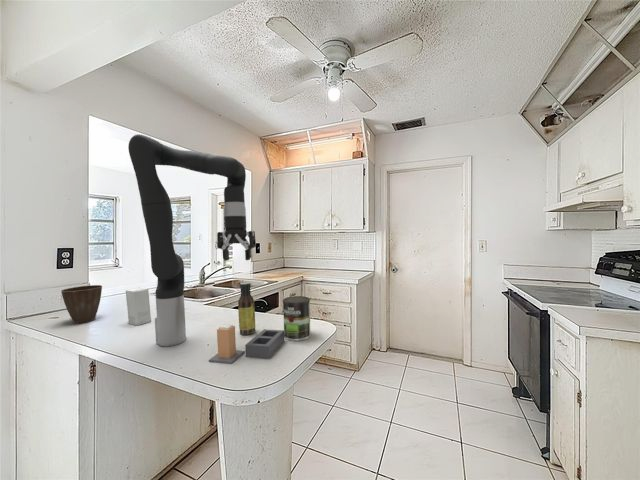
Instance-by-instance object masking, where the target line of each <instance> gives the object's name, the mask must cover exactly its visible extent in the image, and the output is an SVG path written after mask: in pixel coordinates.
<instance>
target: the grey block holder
mask: <svg viewBox="0 0 640 480" xmlns="http://www.w3.org/2000/svg"><path fill="white" fill-rule="evenodd" d="M285 341H286V340H285V337H284V329H283V330H281V329H266V328H265V329H263V330H261V331H260V332H259V333H258V334H256V335H255V336H254V337H253V338H252V339H250V340H249V341H248V342H247V343H246V344H245V345H244V351H245V358H251V359H253V358H254V359H255V358H256V359H265V360H269V359H271V357H273V355H274V354H275V353H276V352H277V350H279V348H280V347H281V346H282V345H283V344H284V343H285Z"/></svg>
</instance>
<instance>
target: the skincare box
mask: <svg viewBox="0 0 640 480" xmlns="http://www.w3.org/2000/svg"><path fill="white" fill-rule="evenodd" d="M125 297H126V298H125V299H126V307H127V309H126V310H127V316H128V317H127V319H128V324H130V325H134V326H141V325H143V324H147V323H151V322H152V316H151V315H152V313H151V305H150V304H151V303H150V292H149V288H145V287H136V288H133V289H132V288H131V289H126V290H125Z"/></svg>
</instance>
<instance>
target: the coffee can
mask: <svg viewBox="0 0 640 480" xmlns="http://www.w3.org/2000/svg"><path fill="white" fill-rule="evenodd" d="M310 301H311V299H310V297H308V296H303V295H301V296H300V295H293V296H289V297H284V298H283V299H282V307H283V308H282V309H283V330H284V337H285V339H286V340H287V341H293V342H297V341H298V342H299V341H304V340H307V339H309V338H311V336H312V335H311V309H310V308H311V304H310Z"/></svg>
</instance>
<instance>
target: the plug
mask: <svg viewBox="0 0 640 480" xmlns="http://www.w3.org/2000/svg"><path fill="white" fill-rule="evenodd" d="M216 337H217V340H216V341H217V353H218V357H220V358H230V357H232V356H233V355H234V354H235V353H236V350H237V343H236V341H237V337H236V326H235V325H234V324H232V323H231V324H230V323H224V324H222V325H220V326H218V328H217V329H216Z"/></svg>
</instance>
